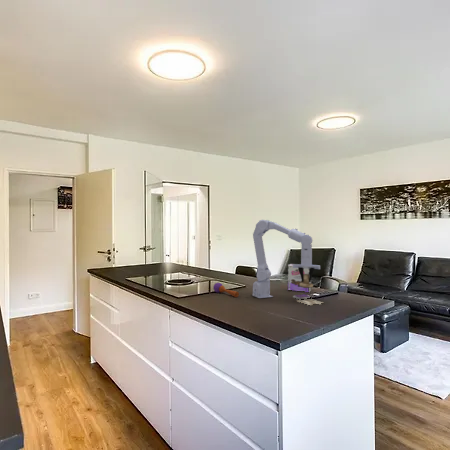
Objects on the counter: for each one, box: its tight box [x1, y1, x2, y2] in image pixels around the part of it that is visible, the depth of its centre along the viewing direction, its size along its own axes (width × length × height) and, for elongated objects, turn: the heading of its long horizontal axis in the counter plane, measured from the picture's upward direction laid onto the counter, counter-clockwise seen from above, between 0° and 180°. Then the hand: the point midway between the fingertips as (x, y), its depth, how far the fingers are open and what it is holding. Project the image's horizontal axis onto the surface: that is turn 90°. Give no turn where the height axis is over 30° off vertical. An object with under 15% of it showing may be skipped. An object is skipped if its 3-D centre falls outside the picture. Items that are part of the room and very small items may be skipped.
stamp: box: [300, 274, 314, 289], centre depth 176 cm, size 5×5×7 cm
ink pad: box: [292, 294, 312, 300], centre depth 182 cm, size 8×6×2 cm
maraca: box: [213, 282, 240, 298], centre depth 190 cm, size 6×6×20 cm
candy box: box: [287, 263, 312, 293], centre depth 203 cm, size 14×6×16 cm, turn 62°
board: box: [296, 298, 324, 306], centre depth 171 cm, size 10×10×1 cm
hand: (306, 281), depth 176 cm, fingers closed on stamp, 3 cm apart
